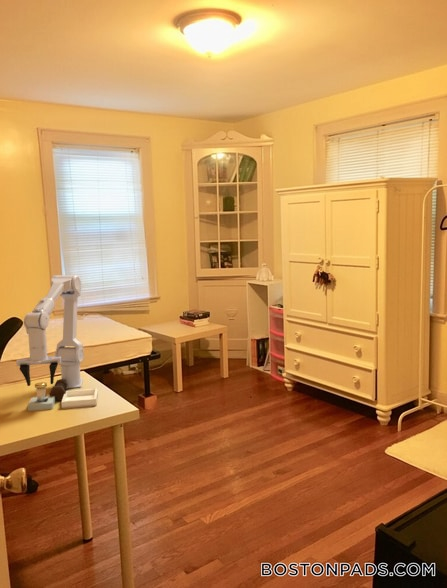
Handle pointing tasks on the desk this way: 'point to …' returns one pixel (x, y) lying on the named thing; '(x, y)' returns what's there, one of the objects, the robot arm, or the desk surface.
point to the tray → (80, 398)
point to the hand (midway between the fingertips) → (40, 384)
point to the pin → (41, 391)
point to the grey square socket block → (41, 403)
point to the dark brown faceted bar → (58, 389)
